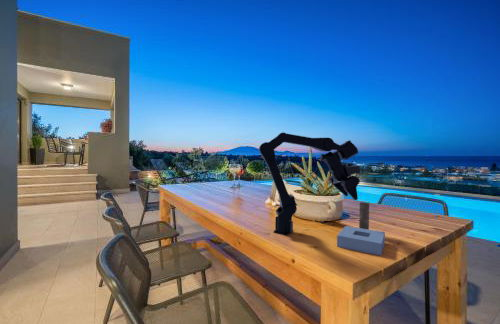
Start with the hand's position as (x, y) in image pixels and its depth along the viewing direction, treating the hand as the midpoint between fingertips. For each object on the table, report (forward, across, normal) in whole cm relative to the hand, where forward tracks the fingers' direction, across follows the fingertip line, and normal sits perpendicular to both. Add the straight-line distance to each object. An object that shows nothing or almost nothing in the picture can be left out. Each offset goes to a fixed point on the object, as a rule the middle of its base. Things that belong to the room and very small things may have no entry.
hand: (351, 197), depth 103 cm
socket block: (+12, -15, +9) cm, 21 cm away
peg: (+15, -3, +3) cm, 16 cm away
